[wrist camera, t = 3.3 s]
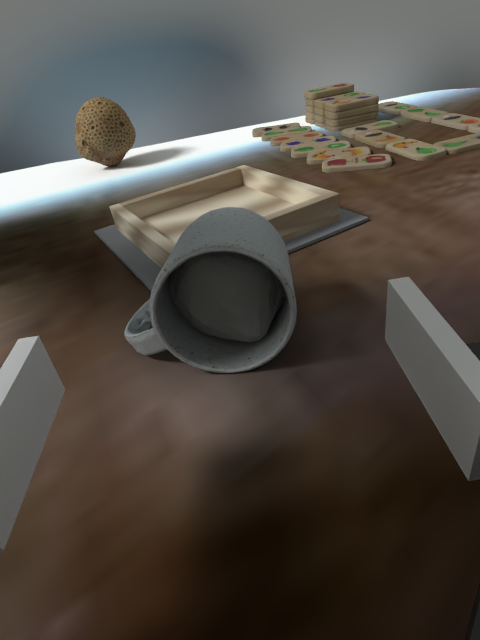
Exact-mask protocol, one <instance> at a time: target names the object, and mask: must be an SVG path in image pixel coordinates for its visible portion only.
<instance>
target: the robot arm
mask: <svg viewBox="0 0 480 640" xmlns="http://www.w3.org/2000/svg"><path fill="white" fill-rule="evenodd" d="M385 341H386V343H387V344H388V346H389V348H390V349H391V351H392V353H393V355H394V356H395V358H396V360H397V361H398V363H399V365H400V366H401V368H402V370H403V371H404V373H405V375H406V376H407V378H408V380H409V382H410V383H411V385H412V387H413V388H414V390H415V392H416V393H417V395H418V397H419V398H420V400H421V402H422V403H423V405H424V407H425V409H426V410H427V412H428V414H429V415H430V417H431V419H432V420H433V422H434V424H435V425H436V427H437V429H438V431H439V432H440V434H441V436H442V437H443V439H444V441H445V442H446V444H447V446H448V447H449V449H450V451H451V452H452V454H453V456H454V458H455V459H456V461H457V463H458V464H459V466H460V468H461V469H462V471H463V473H464V474H465V476H466V478H467V479H468V481H472V480H478V479H480V342H479V343H472V344H465V343H464V342H463V341H462V339H461V338H460V337H459V336H458V335H457V333H456V332H455V331H454V330H453V329H452V328H451V326H450V325H449V324H448V323H447V322H446V320H445V319H444V318H443V317H442V316H441V315H440V313H439V312H438V311H437V310H436V309H435V307H434V306H433V305H432V304H431V303H430V301H429V300H428V299H427V298H426V297H425V296H424V294H423V293H422V292H421V291H420V290H419V288H418V287H417V286H416V285H415V284H414V282H413V281H412V280H411V279H410V278H409V277H404V278H397V279H391V280H388V288H387V307H386V325H385ZM64 392H65V388H64V386H63V384H62V382H61V380H60V378H59V376H58V374H57V372H56V370H55V368H54V366H53V364H52V362H51V360H50V358H49V356H48V354H47V352H46V350H45V348H44V346H43V344H42V342H41V340H40V338H39V336H34V337H28V338H22V339H18V341H17V342H16V344H15V346H14V347H13V349H12V351H11V352H10V354H9V356H8V357H7V359H6V361H5V362H4V364H3V366H2V367H1V369H0V551H4V548H5V545H6V543H7V540H8V538H9V535H10V533H11V530H12V527H13V525H14V522H15V520H16V517H17V514H18V512H19V509H20V507H21V504H22V501H23V499H24V496H25V494H26V491H27V488H28V486H29V483H30V481H31V478H32V475H33V473H34V470H35V468H36V465H37V462H38V460H39V457H40V455H41V452H42V449H43V447H44V444H45V442H46V439H47V436H48V434H49V431H50V429H51V426H52V423H53V421H54V418H55V416H56V413H57V410H58V408H59V405H60V403H61V400H62V397H63V395H64ZM465 640H480V584H479V588H478V592H477V596H476V599H475V603H474V607H473V611H472V614H471V618H470V622H469V625H468V629H467V633H466V637H465Z"/></svg>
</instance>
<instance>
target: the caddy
mask: <svg viewBox="0 0 480 640" xmlns="http://www.w3.org/2000/svg"><path fill="white" fill-rule="evenodd" d="M109 207H110V210H111V213H112V216H113V219H114V222H115V226H116V229H117V230H118V231H120V232H121V233H122V234H123V235H124V236H125V237H126V238H128V239H129V240H130V241H131V242H132V243H133V244H134V245H135V246H137V247H138V248H139V249H140V250H141V251H142V252H143V253H145V254H146V255H147V256H148V257H149V258H150V259H151V260H153V261H154V262H155V263H156V264H157V265H158V266H159V267H160V268H162V267H163V266H164V264H165V262H166V261H167V259H168V257H169V256H170V254H171V253H172V251H173V249H174V247H175V245H176V243H177V241H178V239H179V237H180V236H181V234H182V233H183V232H184V230H185V229H186V228H187V227H188V226H189V225H190V224H191V223H192V222H193V221H195V220H196V219H197V218H199V217H200V216H201V215H203V214H205V213H207V212H209V211H211V210H215V209H219V208H224V207H237V208H244V209H247V210H250V211H253V212H255V213H257V214H259V215H261V216H262V217H264V218H265V219H266V220H268V221H269V222H270V223H271V224H272V225H273V226H274V228H275V229H276V230H277V231H278V233H279V234H280V236H281V238H282V239H283V241H284V242H286V241H289V240H291V239H294V238H296V237H299V236H301V235H304V234H306V233H309V232H311V231H314V230H316V229H319V228H321V227H324V226H326V225H329V224H331V223H334V222H336V221H339V220H340V194H339V193H336V192H332V191H329V190H325V189H322V188H319V187H315V186H312V185H309V184H305V183H302V182H299V181H295V180H292V179H289V178H285V177H282V176H279V175H275V174H272V173H268V172H265V171H262V170H258V169H255V168H252V167H248V166H245V165H242V166H239V167H236V168H233V169H229V170H226V171H223V172H220V173H216V174H213V175H210V176H207V177H203V178H200V179H197V180H194V181H190V182H187V183H184V184H181V185H177V186H174V187H171V188H168V189H164V190H161V191H158V192H155V193H152V194H148V195H145V196H142V197H139V198H135V199H132V200H129V201H126V202H122V203H119V204H116V205H113V206H109Z"/></svg>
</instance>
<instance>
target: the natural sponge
mask: <svg viewBox="0 0 480 640" xmlns="http://www.w3.org/2000/svg"><path fill="white" fill-rule="evenodd" d="M135 135H136V134H135V130H134V127H133V125H132V123H131V121H130V119H129V117H128V116H127V114H126V112H125V111H124V110H123V109H122V108H121V107H120V106H119V105H118V104H116V103H114V102H113V101H111V100H109V99H107V98H104V97H96V98H94V99H91V100H89V101H87V102H85V103H84V104H83V105H82V106H81V108H80V110H79V112H78V114H77V117H76V125H75V142H76V147H77V150H78V152H79V153H80V155H81V156H82V157H84V158H85V159H87V160H90V161H94V162H97V163H100V164H102V165H105V166H115V165H117V164H119V163H120V162H121V161H122V159H123V158H124V156H125V154H126V153H127V152H128V151H129V150H130V149H131V147H132V146H133V144H134V141H135Z"/></svg>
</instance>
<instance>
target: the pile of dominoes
mask: <svg viewBox="0 0 480 640" xmlns="http://www.w3.org/2000/svg"><path fill="white" fill-rule="evenodd" d="M304 97H305V104H306V105H305V110H306V122H307V123H310V124H315V125H316V126H319V127H322V128H324V127H325V129H327V130H330V131H341V130H342V132H341V135H343V136H346V137H349V138H355V140H358V141H360V142H363V143H366V144H369V145H372V146H374V147H377V148H386V150H388V151H391V152H394V153H397V154H399V155H402V156H405V157H408V158H411V159H414V160H428V159H432V158H436V157H440V156H444V155H446V154H447V153H449V154H451V153H459V152H463V151H468V150H472V149H477V148H480V118H476V117H470V116H466V115H461V114H455V113H453V114H449V113H448V112H444V111H439V110H434V109H429V108H424V107H417V106H415V105H409V104H404V103H398V102H385V103H381V104H378V102H379V100H378V96H377V95H371V94H365V93H361V92H354V85H353V84H352V83H340V84H335V85H331V86H326V87H321V88H316V89H312V90H307V91H305V93H304ZM378 112H383V113H388V114H392V115H400V116H402V117H406V118H410V119H415V120H419V121H424V122H431V123H434V124H439V125H443V126H448V127H452V128H456V129H461V130H468V131H469V132H473V133H476V134H471V135H467V136H463V137H459V138H454V139H450V140H446V141H441V142H437V143H435V144H434V145H431V144H428V143H424V142H421V141H417V140H414V139H405V138H404V137H401V136H397V135H394V134H391V133H387V132H384V131H388V130H392V129H396V128H398V123H397V122H393V121H389V120H382V121H378V119H377V117H378ZM252 133H253V137H261V136H262V141H271V146H281V147H280V151H282V152H287V151H291V157H292V158H300V157H307V164H322V171H323V172H340V171H351V170H362V169H373V168H384V167H389V166H391V165H392V160H391V157H390V155H388V154H375V155H371V152H370V149H369V148H368V147H355V148H351V145H350V142H348V141H338V142H336V138H335V137H334V136H323V133H322V132H321V131H314V132H312V129H311V127H309V126H304V127H300V125H299V123H290V124H284V125H277V126H269V127H260V128H256V129H253V132H252Z"/></svg>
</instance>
